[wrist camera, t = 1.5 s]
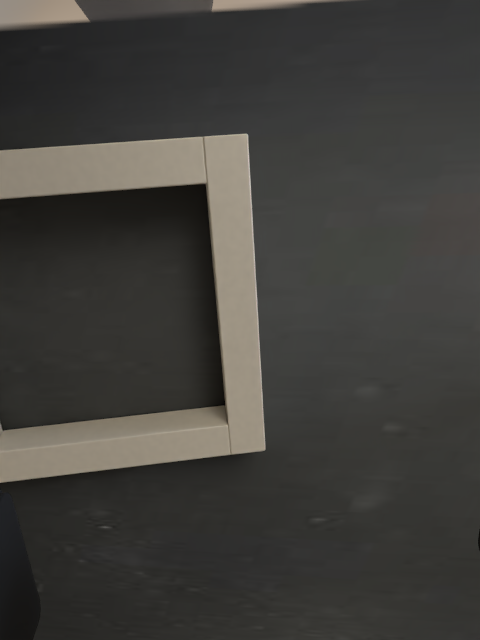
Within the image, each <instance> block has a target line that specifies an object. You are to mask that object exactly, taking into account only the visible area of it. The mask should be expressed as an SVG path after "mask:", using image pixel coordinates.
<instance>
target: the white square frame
mask: <svg viewBox="0 0 480 640" xmlns="http://www.w3.org/2000/svg"><path fill="white" fill-rule="evenodd" d="M195 184H206V193H207V204H208V215H209V227H210V238H211V249H212V260H213V272H214V283H215V294H216V306H217V317H218V328H219V339H220V351H221V362H222V373H223V385H224V396H225V406H224V405H223V406H214V407H206V408H197V409H188V410H179V411H170V412H162V413H153V414H144V415H135V416H126V417H117V418H109V419H100V420H91V421H82V422H73V423H65V424H56V425H47V426H38V427H29V428H21V429H12V430H4V431H3V430H2V426H1V423H0V483H2V482H11V481H19V480H27V479H35V478H43V477H52V476H60V475H68V474H76V473H84V472H93V471H101V470H109V469H117V468H125V467H134V466H142V465H150V464H158V463H166V462H175V461H183V460H191V459H199V458H207V457H216V456H224V455H230V454H232V455H233V454H241V453H249V452H257V451H265V434H264V416H263V398H262V380H261V362H260V344H259V326H258V309H257V291H256V273H255V255H254V237H253V219H252V201H251V183H250V166H249V148H248V135H247V134H235V135H220V136H205V137H191V138H176V139H162V140H147V141H132V142H117V143H103V144H88V145H73V146H59V147H44V148H29V149H15V150H0V199H11V198H24V197H37V196H50V195H63V194H76V193H90V192H103V191H116V190H129V189H142V188H155V187H168V186H182V185H195Z"/></svg>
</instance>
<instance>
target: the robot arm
mask: <svg viewBox="0 0 480 640" xmlns="http://www.w3.org/2000/svg"><path fill="white" fill-rule="evenodd" d="M478 545H479V550H480V531H479V538H478ZM39 617H40V598H39V595H38V591H37V588H36V584H35V580H34V577H33V573H32V569H31V566H30V562H29V558H28V555H27V551H26V547H25V544H24V540H23V536H22V533H21V529H20V525H19V522H18V518H17V514H16V511H15V507H14V503H13V500H12V497H11V495H10V494H9V493H2V491H1V489H0V640H33V637H34V634H35V631H36V628H37V625H38V622H39Z"/></svg>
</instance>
